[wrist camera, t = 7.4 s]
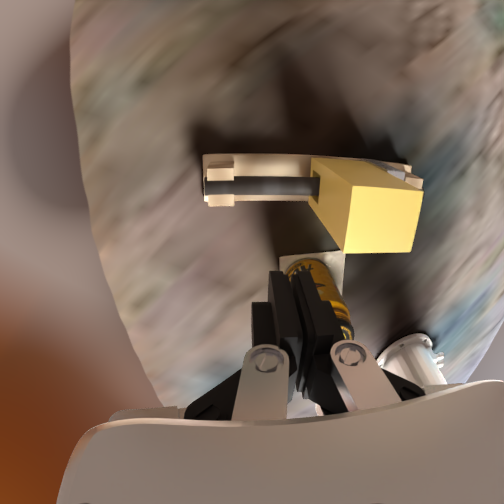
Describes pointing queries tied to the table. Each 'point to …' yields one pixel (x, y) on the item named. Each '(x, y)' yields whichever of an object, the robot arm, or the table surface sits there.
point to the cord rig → (268, 177)
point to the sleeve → (365, 206)
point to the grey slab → (386, 168)
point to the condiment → (324, 280)
